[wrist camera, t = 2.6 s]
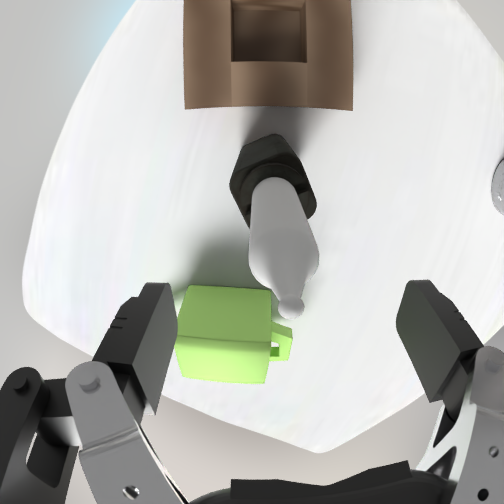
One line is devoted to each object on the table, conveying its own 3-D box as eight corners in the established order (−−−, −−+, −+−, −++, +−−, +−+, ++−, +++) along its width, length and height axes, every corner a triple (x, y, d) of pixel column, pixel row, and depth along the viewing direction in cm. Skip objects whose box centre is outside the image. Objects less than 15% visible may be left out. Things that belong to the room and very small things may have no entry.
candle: (298, 173, 32) (381, 339, 10) (255, 190, 33) (250, 381, 11) (280, 130, 30) (348, 213, 8) (236, 149, 31) (179, 279, 9)
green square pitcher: (166, 332, 44) (149, 381, 36) (156, 280, 39) (133, 330, 31) (284, 341, 44) (286, 394, 36) (293, 290, 39) (298, 344, 31)
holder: (335, -13, 21) (347, -29, 17) (338, 109, 28) (352, 110, 24) (195, -15, 22) (185, -32, 17) (195, 108, 29) (184, 109, 24)
